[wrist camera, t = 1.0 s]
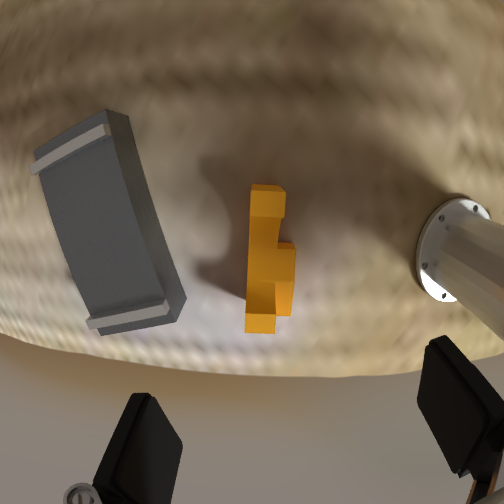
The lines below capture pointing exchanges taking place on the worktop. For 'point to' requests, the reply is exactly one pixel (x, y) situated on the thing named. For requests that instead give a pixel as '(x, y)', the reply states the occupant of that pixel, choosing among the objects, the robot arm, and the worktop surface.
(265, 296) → the orange stepped block
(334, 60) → the worktop surface
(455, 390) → the robot arm
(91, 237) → the mounting block
